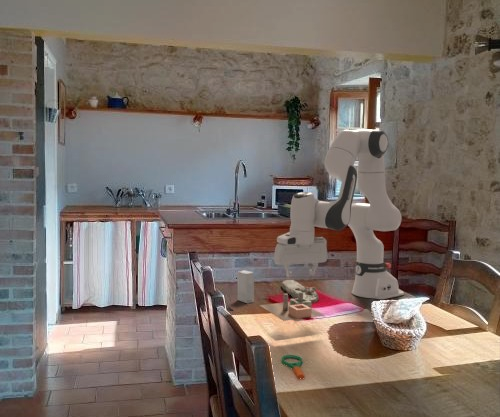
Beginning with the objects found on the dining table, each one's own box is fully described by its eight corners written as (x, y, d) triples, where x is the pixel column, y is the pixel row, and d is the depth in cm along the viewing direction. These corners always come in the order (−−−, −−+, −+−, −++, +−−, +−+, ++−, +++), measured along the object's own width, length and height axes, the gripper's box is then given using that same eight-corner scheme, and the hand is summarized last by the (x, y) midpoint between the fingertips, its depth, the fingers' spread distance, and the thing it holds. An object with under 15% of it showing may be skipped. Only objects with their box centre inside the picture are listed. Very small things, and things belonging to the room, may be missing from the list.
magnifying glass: (279, 359, 156) (279, 353, 156) (299, 358, 157) (299, 352, 157) (289, 381, 142) (290, 375, 141) (312, 380, 142) (312, 374, 142)
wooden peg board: (297, 304, 212) (298, 286, 211) (324, 319, 194) (325, 299, 193) (259, 309, 205) (259, 290, 204) (283, 324, 187) (284, 303, 186)
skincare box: (254, 302, 215) (255, 272, 213) (246, 303, 212) (246, 273, 210) (245, 298, 219) (245, 269, 218) (236, 300, 216) (236, 271, 215)
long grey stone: (296, 287, 245) (276, 289, 242) (296, 276, 244) (275, 278, 242) (325, 305, 211) (301, 307, 208) (324, 291, 210) (300, 294, 208)
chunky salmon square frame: (302, 311, 197) (303, 303, 197) (311, 316, 192) (311, 308, 191) (288, 313, 195) (288, 305, 194) (296, 318, 189) (296, 310, 189)
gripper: (322, 235, 197) (320, 272, 199) (272, 237, 189) (271, 275, 190) (331, 237, 192) (330, 275, 193) (280, 240, 183) (279, 279, 185)
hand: (300, 275), depth 192 cm, fingers open, 8 cm apart
